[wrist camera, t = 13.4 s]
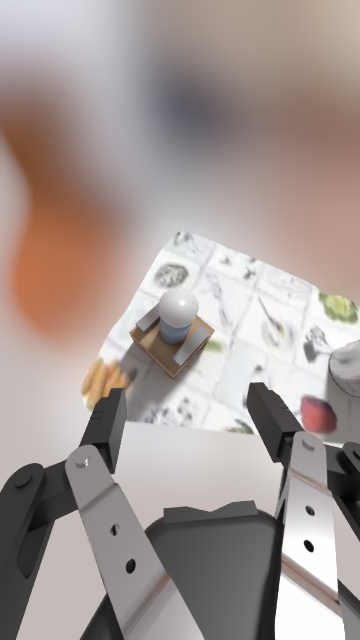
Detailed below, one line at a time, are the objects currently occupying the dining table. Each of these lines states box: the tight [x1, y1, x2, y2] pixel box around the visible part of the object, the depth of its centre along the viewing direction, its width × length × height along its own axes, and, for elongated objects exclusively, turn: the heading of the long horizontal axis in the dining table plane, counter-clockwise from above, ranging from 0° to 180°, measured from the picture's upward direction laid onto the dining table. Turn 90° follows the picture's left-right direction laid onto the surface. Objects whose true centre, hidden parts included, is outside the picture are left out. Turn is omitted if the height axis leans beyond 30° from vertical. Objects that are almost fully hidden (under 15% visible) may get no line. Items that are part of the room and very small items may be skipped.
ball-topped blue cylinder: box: [159, 288, 198, 345], centre depth 29 cm, size 5×5×10 cm
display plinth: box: [129, 303, 215, 379], centre depth 35 cm, size 10×10×6 cm
